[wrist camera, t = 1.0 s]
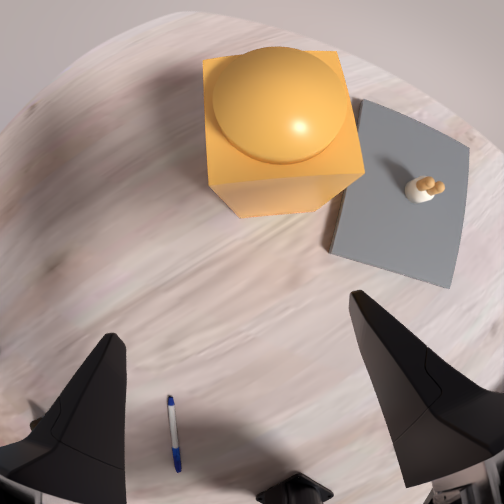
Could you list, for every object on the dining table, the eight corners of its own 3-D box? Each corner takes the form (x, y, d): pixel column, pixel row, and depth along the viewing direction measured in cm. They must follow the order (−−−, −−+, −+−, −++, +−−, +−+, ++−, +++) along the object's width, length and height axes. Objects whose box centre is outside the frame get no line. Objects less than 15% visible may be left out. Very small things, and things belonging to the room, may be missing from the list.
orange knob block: (314, 211, 23) (373, 166, 9) (240, 218, 23) (202, 179, 10) (305, 141, 23) (340, 38, 9) (233, 147, 23) (198, 47, 10)
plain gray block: (443, 287, 22) (474, 294, 17) (328, 253, 23) (344, 254, 18) (464, 150, 22) (491, 136, 17) (360, 103, 22) (377, 77, 18)
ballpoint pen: (184, 470, 24) (182, 475, 23) (176, 469, 24) (174, 474, 23) (174, 395, 24) (171, 400, 23) (165, 394, 24) (162, 399, 23)
